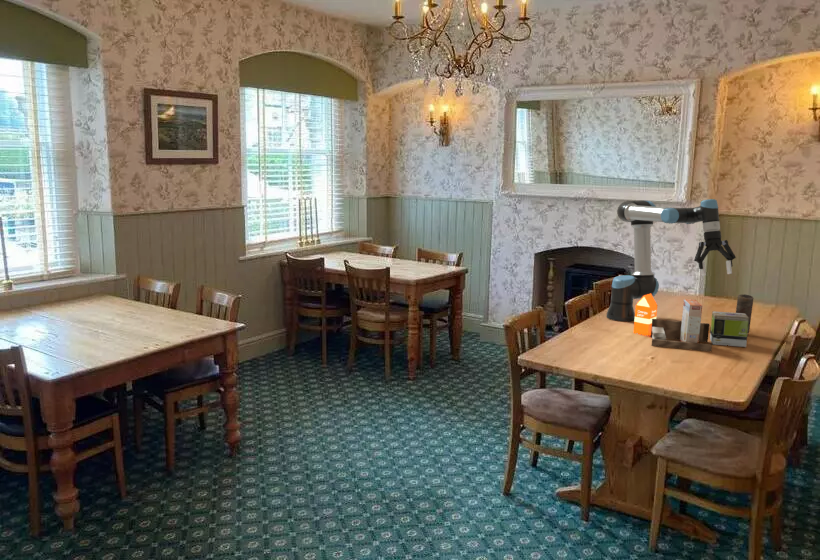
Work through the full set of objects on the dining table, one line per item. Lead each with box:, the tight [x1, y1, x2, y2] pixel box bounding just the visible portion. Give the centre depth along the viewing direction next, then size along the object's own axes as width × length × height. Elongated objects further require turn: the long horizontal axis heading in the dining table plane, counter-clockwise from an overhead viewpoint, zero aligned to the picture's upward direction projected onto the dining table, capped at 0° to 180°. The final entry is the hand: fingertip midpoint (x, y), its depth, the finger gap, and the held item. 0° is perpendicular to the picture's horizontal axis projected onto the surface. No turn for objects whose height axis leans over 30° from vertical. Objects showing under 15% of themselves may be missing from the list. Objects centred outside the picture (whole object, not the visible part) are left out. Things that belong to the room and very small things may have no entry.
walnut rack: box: [650, 318, 713, 352], centre depth 321 cm, size 26×19×9 cm
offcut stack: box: [651, 327, 667, 340], centre depth 324 cm, size 6×12×6 cm, turn 163°
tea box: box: [709, 310, 749, 348], centre depth 322 cm, size 15×10×15 cm, turn 73°
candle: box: [735, 294, 755, 334], centre depth 340 cm, size 8×7×20 cm
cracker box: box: [679, 298, 703, 343], centre depth 319 cm, size 14×6×21 cm, turn 168°
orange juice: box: [633, 294, 658, 337], centre depth 339 cm, size 8×9×20 cm
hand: (716, 274), depth 324 cm, fingers open, 13 cm apart
